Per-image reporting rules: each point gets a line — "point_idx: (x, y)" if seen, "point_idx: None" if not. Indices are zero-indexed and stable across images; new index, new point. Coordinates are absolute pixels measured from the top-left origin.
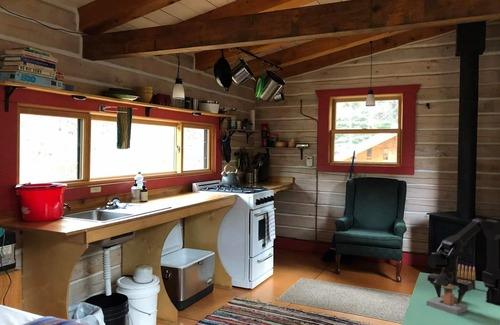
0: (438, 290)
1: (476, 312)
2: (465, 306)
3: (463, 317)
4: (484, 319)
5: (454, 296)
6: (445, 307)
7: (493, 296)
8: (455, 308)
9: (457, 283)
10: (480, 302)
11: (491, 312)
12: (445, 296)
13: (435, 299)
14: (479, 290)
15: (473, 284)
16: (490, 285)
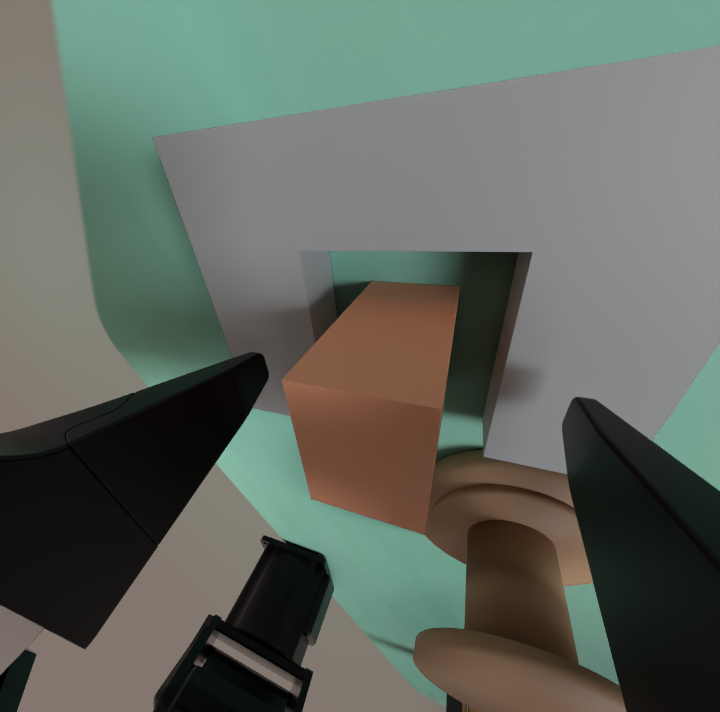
0: (662, 540)
1: None
2: None
3: (140, 141)
4: (107, 285)
5: (461, 559)
6: (325, 111)
7: (271, 590)
8: (216, 205)
9: None
10: (332, 541)
11: None
12: (396, 367)
13: (631, 346)
14: None
15: (452, 702)
16: (233, 684)
